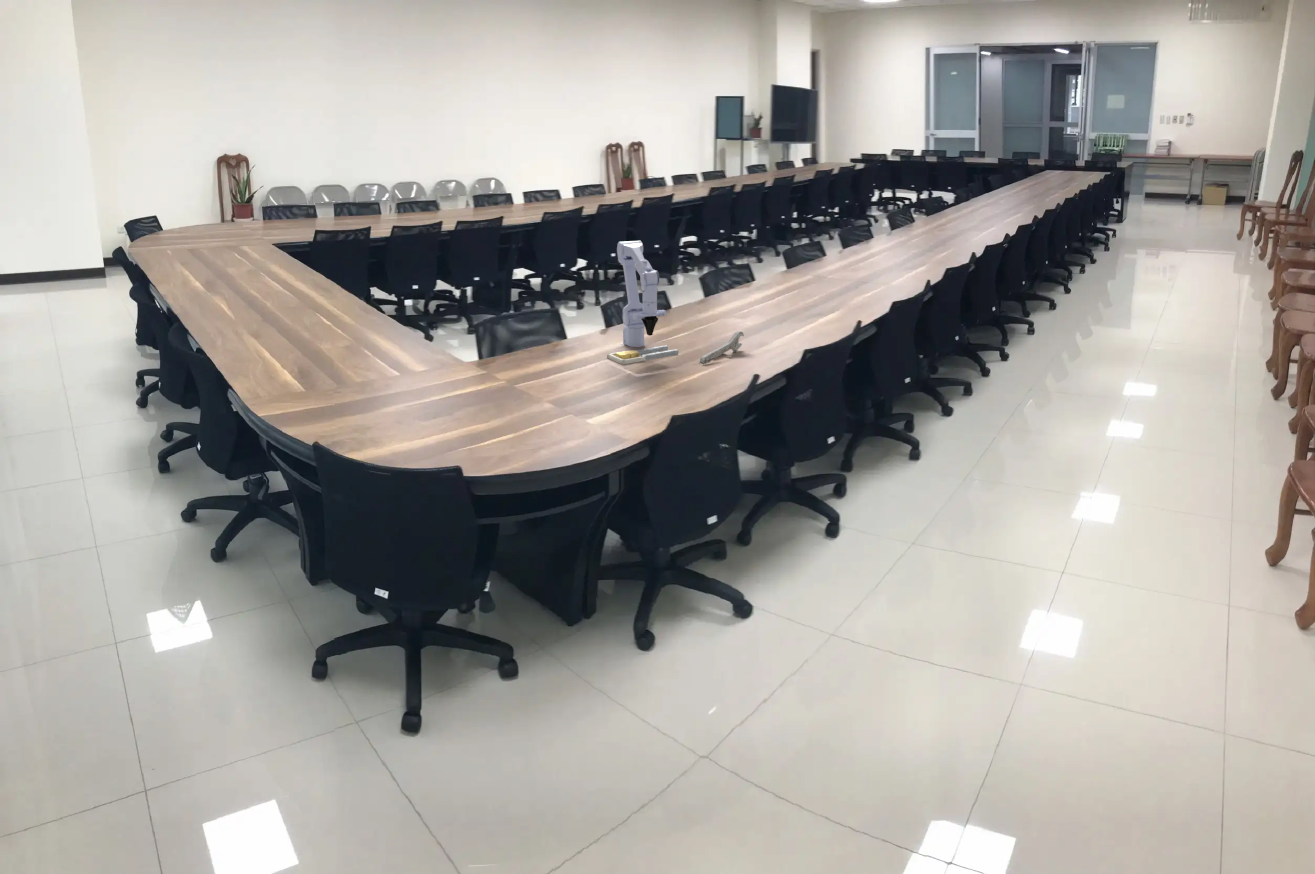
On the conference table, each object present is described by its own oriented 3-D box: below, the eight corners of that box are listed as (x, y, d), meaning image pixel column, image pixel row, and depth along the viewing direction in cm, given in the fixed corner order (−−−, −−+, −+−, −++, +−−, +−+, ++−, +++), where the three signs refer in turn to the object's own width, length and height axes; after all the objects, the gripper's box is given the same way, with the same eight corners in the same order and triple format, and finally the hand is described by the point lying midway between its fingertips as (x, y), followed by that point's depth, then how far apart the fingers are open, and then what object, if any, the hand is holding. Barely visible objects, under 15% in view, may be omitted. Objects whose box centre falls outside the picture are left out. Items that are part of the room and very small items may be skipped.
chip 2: (625, 358, 365) (625, 351, 364) (633, 357, 367) (633, 350, 366) (630, 361, 362) (630, 353, 361) (639, 359, 364) (639, 352, 363)
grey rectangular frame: (607, 360, 365) (607, 354, 364) (629, 356, 370) (629, 350, 370) (622, 366, 356) (622, 360, 355) (645, 362, 361) (645, 356, 360)
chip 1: (616, 360, 363) (616, 353, 362) (624, 358, 365) (624, 351, 364) (621, 362, 359) (621, 355, 358) (630, 361, 362) (629, 353, 360)
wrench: (700, 370, 361) (741, 347, 382) (703, 371, 360) (744, 348, 381) (699, 351, 358) (740, 329, 379) (702, 352, 357) (744, 329, 378)
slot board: (629, 356, 370) (629, 350, 370) (664, 350, 379) (664, 344, 378) (645, 362, 361) (645, 356, 360) (680, 356, 370) (680, 350, 369)
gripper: (639, 305, 354) (639, 339, 359) (670, 301, 362) (670, 334, 366) (630, 302, 360) (630, 335, 364) (660, 298, 367) (660, 331, 372)
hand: (649, 335), depth 366 cm, fingers closed
